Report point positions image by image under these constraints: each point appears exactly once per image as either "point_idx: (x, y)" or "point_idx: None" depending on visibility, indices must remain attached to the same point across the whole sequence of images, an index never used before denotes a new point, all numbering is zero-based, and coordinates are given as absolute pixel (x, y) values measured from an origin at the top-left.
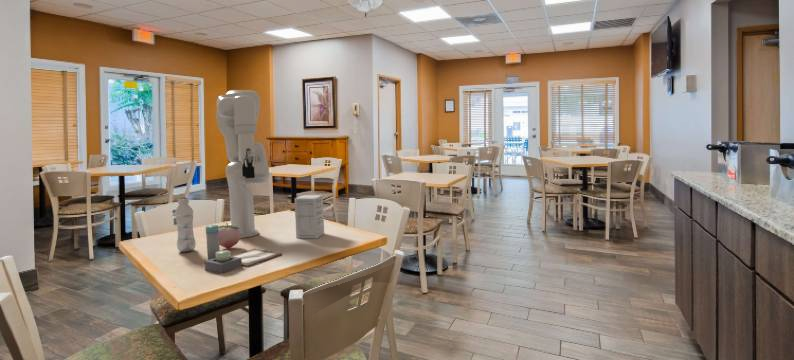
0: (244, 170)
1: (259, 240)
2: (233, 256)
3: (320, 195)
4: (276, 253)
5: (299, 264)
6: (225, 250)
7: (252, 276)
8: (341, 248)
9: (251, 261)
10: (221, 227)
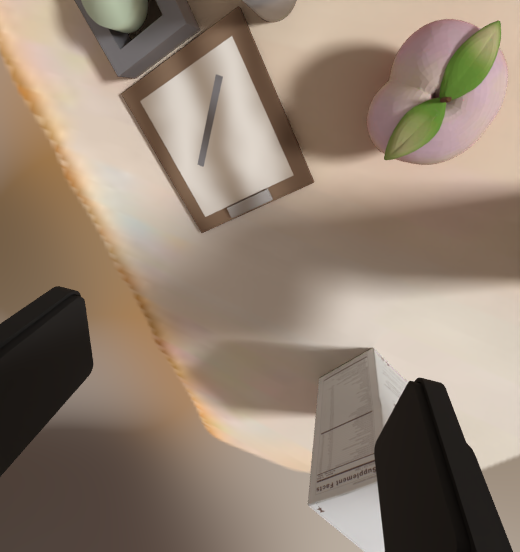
0: (420, 474)
1: (447, 249)
2: (249, 78)
3: (365, 549)
4: (209, 220)
5: (99, 230)
6: (127, 11)
7: (36, 81)
8: (187, 363)
9: (155, 120)
10: (449, 60)
